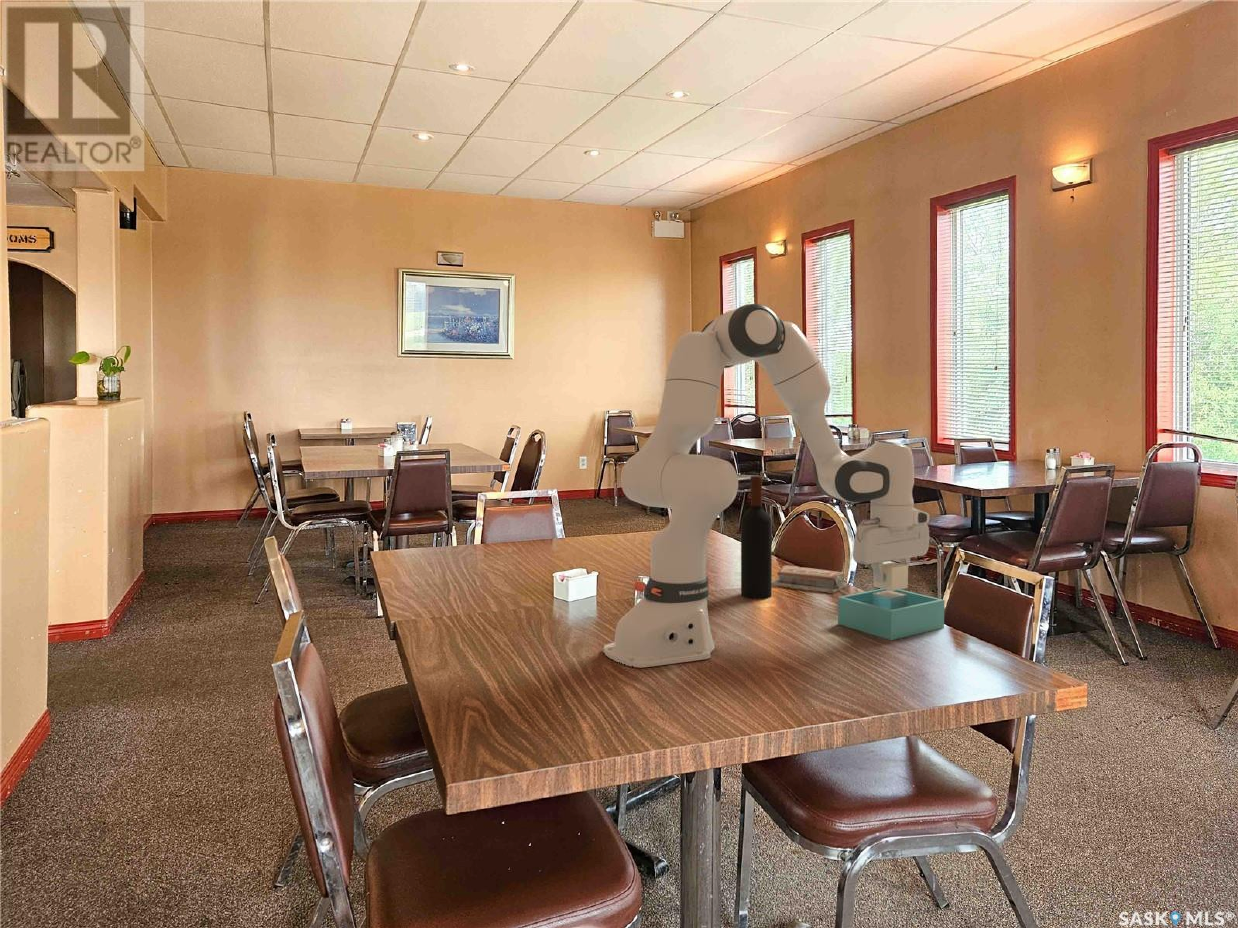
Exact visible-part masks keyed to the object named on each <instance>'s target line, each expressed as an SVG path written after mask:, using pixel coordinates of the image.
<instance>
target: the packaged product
mask: <svg viewBox="0 0 1238 928" xmlns="http://www.w3.org/2000/svg"><path fill="white" fill-rule="evenodd" d="M846 586H847V587H848V583H847V581H845V573H844V572H843V571H835V570H829V569H828V570H827V569H821V568H820V569H819V568H811V567H802V566H795V565H786V564H785V565H782V567H781V568H780V569H779V570H778V571H777V577H776V578H775V579H773V580H772V587H783V588H787V587H789V588H790V589H796V590H801V591H802V590H803V591H809V590H814V591H813V592H818V591H821V593H826V592H827V594H833V595H834V594H836V593H837V591H838V590H840V591H841V590H843V589H844V588H843V587H845V588H846ZM842 588H843V589H842ZM835 592H836V593H835ZM838 592H839V591H838Z"/></svg>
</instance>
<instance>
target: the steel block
mask: <svg viewBox="0 0 1238 928" xmlns="http://www.w3.org/2000/svg"><path fill="white" fill-rule="evenodd" d="M873 605H874V606H878V607H882V608H885V609H889V610H894V609H898V608H903V607H907V595H906V594H902V593H898V592H894V591H890V590H887V591H882V592H877V593H873Z"/></svg>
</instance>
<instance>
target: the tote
mask: <svg viewBox="0 0 1238 928" xmlns="http://www.w3.org/2000/svg"><path fill="white" fill-rule="evenodd" d="M882 591H887V590H886V589H882V588H877V589H874V590H873V589H872V590H867V591H863V592H858V593H852V594H847V595H842V596H837V624H838V625H840V626H844V627H846V628H849V629H853V630H857V631H859V632H863V633H866V634H869V635H872V636H876V637H879V638H883V639H885V640H889V641H893V640H898V639H902V638H905V637H910V636H916V635H918V634H922V633H926V632H930V631H936V630H939V629H943V628H944V627H945V599H942V598H937V597H933V596H929V595H926V594H920V593H917V592H913V591H908V590H904V589H900V590H895V591H894V592H898V593H902V594H906V595H907V607H903V608H898V609H894V610H889V609H885V608H882V607H878V606H874V605H873V593H877V592H882Z"/></svg>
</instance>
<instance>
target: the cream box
mask: <svg viewBox="0 0 1238 928" xmlns="http://www.w3.org/2000/svg"><path fill="white" fill-rule="evenodd" d="M881 568H882V571H883V573H884V574H886V581H885V582H876V581H875V573H874V572H873V587H875V588H877V589H886V590H890V591H895V590H904V589H908V587H909V586H908V585H909V566H908V565H906V564H901V563H900V562H895V561H892V560H891V561H885V562H883V567H881Z"/></svg>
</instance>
